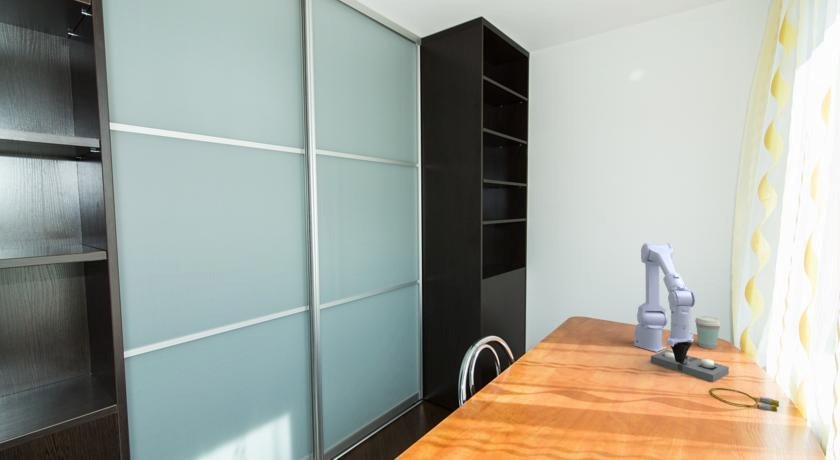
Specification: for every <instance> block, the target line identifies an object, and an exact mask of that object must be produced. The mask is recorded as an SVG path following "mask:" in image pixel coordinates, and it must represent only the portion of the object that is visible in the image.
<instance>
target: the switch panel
mask: <svg viewBox="0 0 840 460" xmlns="http://www.w3.org/2000/svg"><path fill="white" fill-rule="evenodd" d="M665 352H671V353H673V350H670V349H664V350H661V351H659V352H658V353H657V352H656V353H655V354H653V355H652V354H651V355H650V363H651V364H655V365H658V366H659V367H664V368H667V369H670V370H674V371H676V372H678V373H682V374H686V375H689V376H692V377H695V378H698V379H702V380H704V381H708V382H710V383H715V382H716V381H718V380H720V379H722V378H723V377H726V376H727V375H729V372H730V371H729V370H730V367H729V366H728V365H723V364H719V363H716V362H714V368H706V367H703V366H702V365H701V359H702V358H700V357H699V358H698V357H695V356H691V355H689V362H690V363H689V364H683V363H679V362H676V361H675V359H672V358H668V357H665Z"/></svg>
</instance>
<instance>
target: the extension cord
mask: <svg viewBox="0 0 840 460" xmlns="http://www.w3.org/2000/svg"><path fill="white" fill-rule="evenodd" d="M713 391H728V392H734V393H738V394H742V395H745V396H748V397H750V398H751V399H753V400H754V401H755V403H754V404H752V405H751V404H742V403H735V402H731V401H728V400H725V399H723V398H722V397H719V396H717V395H716V394H715V393H713ZM709 394H710V395H711V396H712V397H713V398H715V399H716V400H719V401H720V402H723V403H725V404H728V405H731V406H735V407H740V408H752V407H754V408H757V409H758V408H759V409H760V410H763V411H769V410H771V411H770V412H777V411H778V407H779V406H780V401H779V400H776V399H773V398H770V397H754V396H751V395H750V394H748V393H746V392H743V391H740V390H737V389H733V388H726V387H711V388H710V389H709ZM758 400H759V401H758ZM759 402H761V403H760V404H759ZM767 403H768V404H767ZM770 404H771V405H770ZM775 405H776V406H775Z"/></svg>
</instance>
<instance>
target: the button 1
mask: <svg viewBox="0 0 840 460" xmlns="http://www.w3.org/2000/svg"><path fill="white" fill-rule="evenodd" d="M665 357H668V358H672V359H675V357H674V353H671V352H665Z"/></svg>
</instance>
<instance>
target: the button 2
mask: <svg viewBox="0 0 840 460" xmlns="http://www.w3.org/2000/svg"><path fill="white" fill-rule="evenodd" d="M700 359H701V365H702V366H703V367H706V368H714V363H715V361H714V359H711V358H705V357H704V358H700Z"/></svg>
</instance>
